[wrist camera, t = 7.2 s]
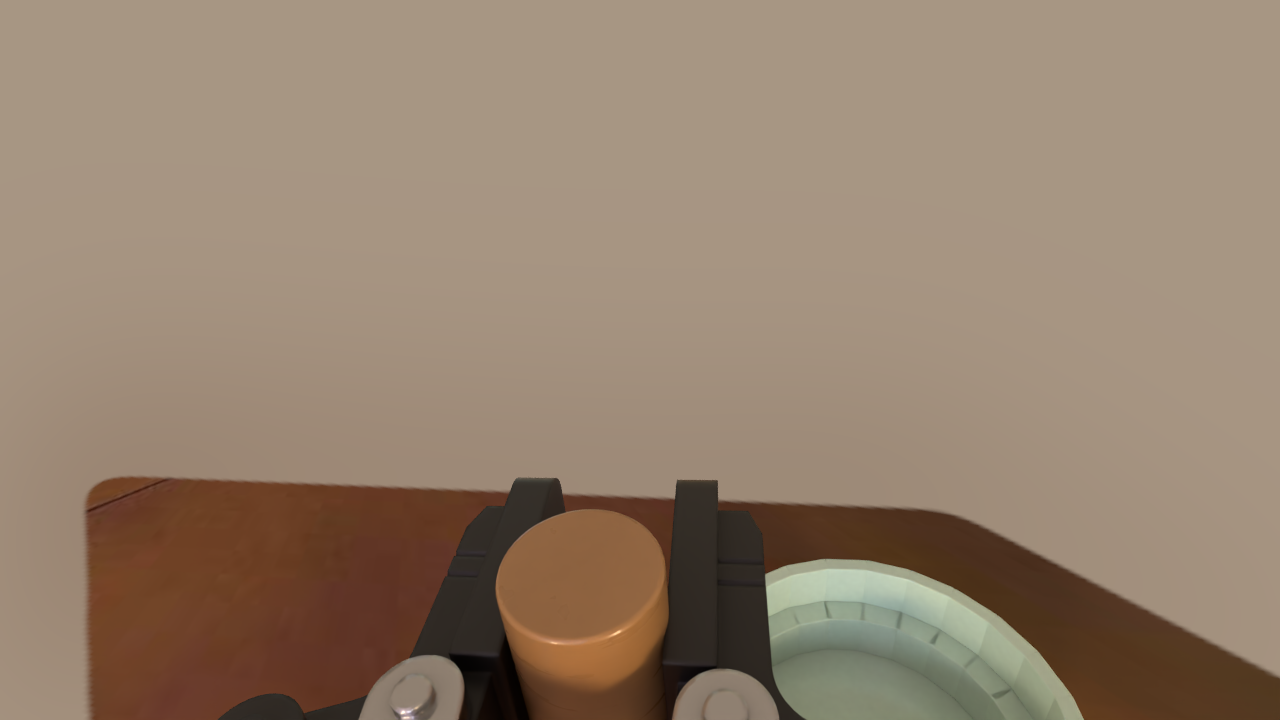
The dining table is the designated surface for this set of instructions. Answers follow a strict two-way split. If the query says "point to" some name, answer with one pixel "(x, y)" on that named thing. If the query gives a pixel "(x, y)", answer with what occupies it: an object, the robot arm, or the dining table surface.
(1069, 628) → the dining table surface
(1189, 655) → the dining table surface
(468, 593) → the robot arm
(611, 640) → the stirring stick
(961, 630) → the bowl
